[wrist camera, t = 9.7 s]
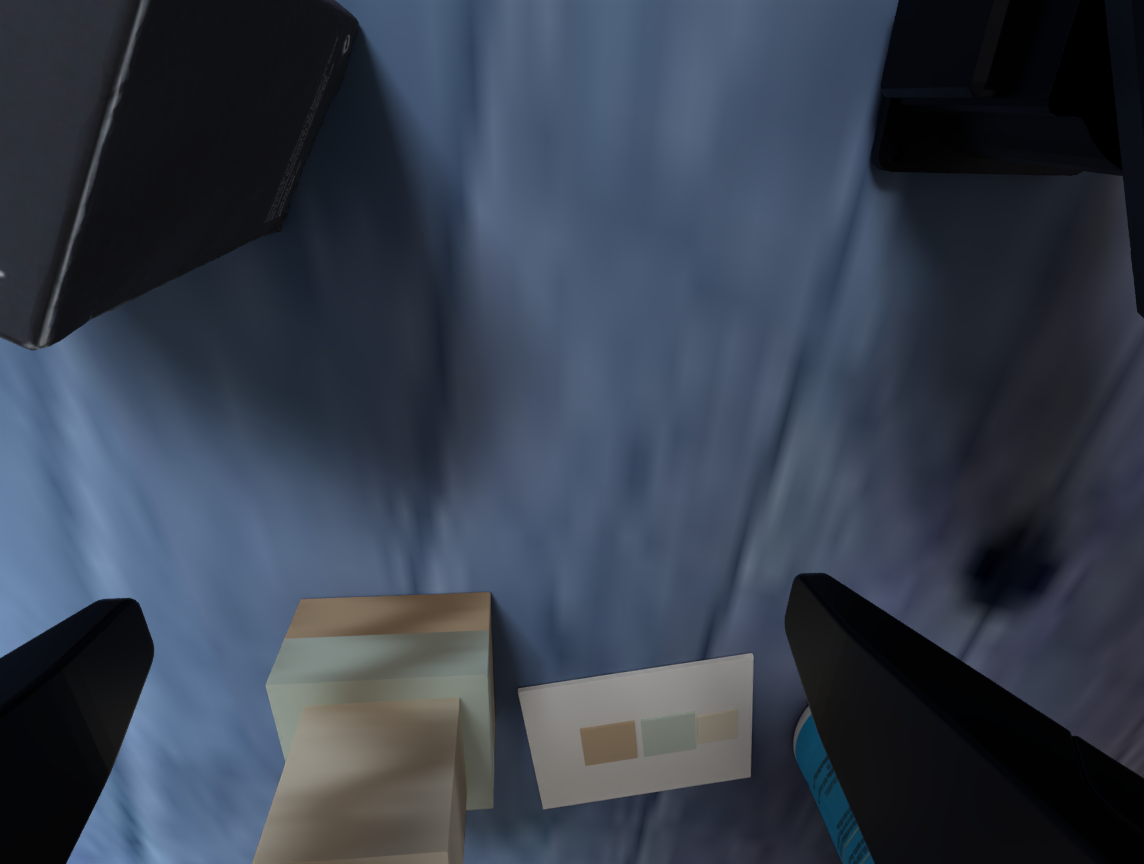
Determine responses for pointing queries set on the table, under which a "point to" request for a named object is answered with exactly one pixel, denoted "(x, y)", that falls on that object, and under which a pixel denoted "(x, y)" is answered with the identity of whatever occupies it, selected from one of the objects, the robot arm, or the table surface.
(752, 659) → the page
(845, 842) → the beverage bottle
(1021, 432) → the table surface
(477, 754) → the tower base
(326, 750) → the beige cube
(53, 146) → the small box
